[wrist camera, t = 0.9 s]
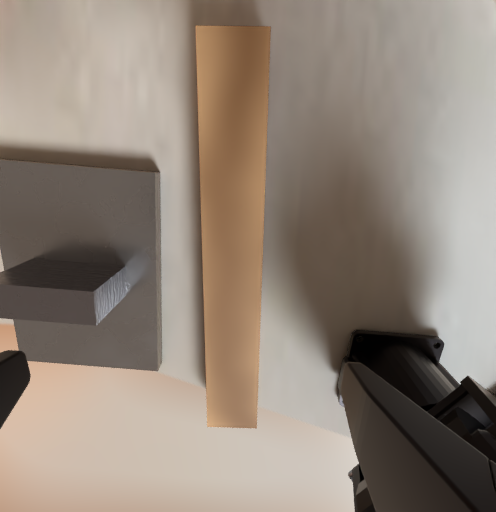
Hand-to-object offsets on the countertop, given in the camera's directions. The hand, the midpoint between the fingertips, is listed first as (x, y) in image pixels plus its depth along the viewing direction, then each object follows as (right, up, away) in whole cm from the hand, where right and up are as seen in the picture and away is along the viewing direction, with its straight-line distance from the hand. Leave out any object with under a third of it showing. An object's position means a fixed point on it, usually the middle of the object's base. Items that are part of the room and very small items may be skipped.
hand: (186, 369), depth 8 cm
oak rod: (+1, +3, +12) cm, 12 cm away
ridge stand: (-9, +2, +12) cm, 15 cm away
